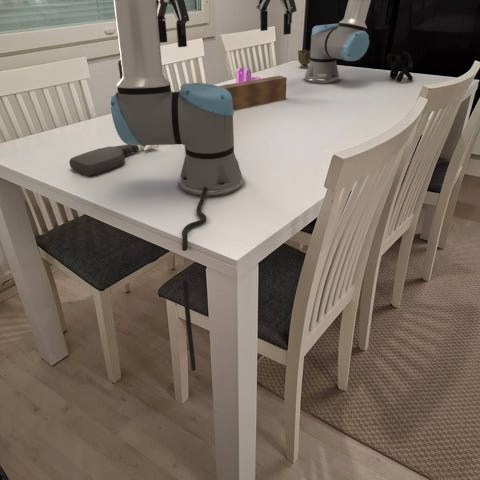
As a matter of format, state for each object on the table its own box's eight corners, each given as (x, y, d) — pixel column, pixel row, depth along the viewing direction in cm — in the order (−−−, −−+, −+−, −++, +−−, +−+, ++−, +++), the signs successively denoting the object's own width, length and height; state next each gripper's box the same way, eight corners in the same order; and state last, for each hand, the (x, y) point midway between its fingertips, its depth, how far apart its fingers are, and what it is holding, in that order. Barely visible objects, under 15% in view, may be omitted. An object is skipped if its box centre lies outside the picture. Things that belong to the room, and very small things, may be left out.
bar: (170, 123, 153) (168, 98, 148) (164, 119, 156) (162, 95, 151) (285, 99, 176) (286, 77, 172) (278, 96, 180) (279, 75, 175)
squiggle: (400, 92, 202) (376, 71, 205) (417, 76, 202) (392, 56, 205) (405, 81, 191) (380, 59, 194) (423, 64, 191) (397, 42, 194)
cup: (294, 68, 226) (295, 51, 222) (300, 65, 232) (301, 48, 227) (308, 69, 223) (309, 52, 219) (313, 66, 229) (315, 49, 224)
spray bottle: (67, 168, 120) (139, 144, 136) (91, 178, 114) (163, 151, 130) (65, 157, 118) (137, 134, 134) (89, 167, 112) (162, 142, 128)
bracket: (246, 86, 195) (246, 69, 191) (236, 85, 197) (235, 68, 194) (263, 80, 203) (263, 64, 200) (253, 79, 206) (253, 63, 202)
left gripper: (197, -34, 125) (202, 47, 136) (159, -33, 143) (165, 39, 154) (173, -34, 122) (180, 50, 132) (137, -33, 139) (145, 41, 150)
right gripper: (308, -37, 145) (305, 34, 156) (262, -36, 162) (262, 28, 174) (291, -36, 141) (289, 37, 153) (245, -36, 159) (247, 30, 170)
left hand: (172, 44), depth 143 cm, fingers open, 13 cm apart
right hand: (275, 32), depth 163 cm, fingers open, 13 cm apart
